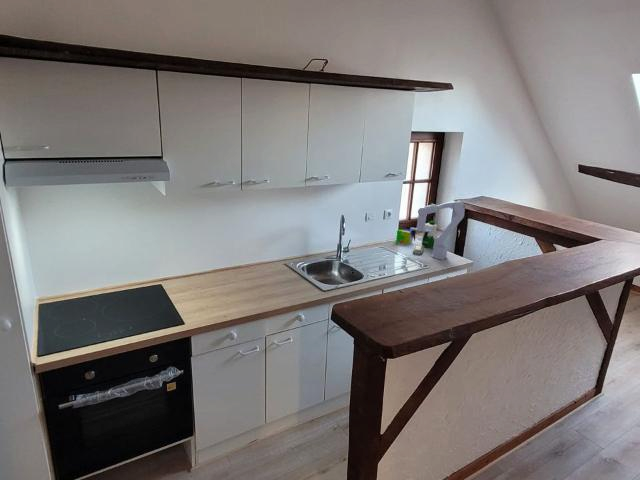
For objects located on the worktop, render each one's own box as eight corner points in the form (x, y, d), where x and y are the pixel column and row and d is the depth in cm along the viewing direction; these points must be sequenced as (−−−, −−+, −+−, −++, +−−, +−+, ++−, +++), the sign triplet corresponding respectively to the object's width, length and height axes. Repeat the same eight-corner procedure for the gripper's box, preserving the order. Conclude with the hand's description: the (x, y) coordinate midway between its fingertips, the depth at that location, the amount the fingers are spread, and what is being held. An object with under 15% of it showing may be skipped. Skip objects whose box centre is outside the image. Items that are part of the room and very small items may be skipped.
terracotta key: (421, 247, 312) (422, 246, 311) (416, 247, 313) (416, 245, 312) (422, 246, 315) (422, 244, 315) (417, 245, 317) (417, 243, 316)
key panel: (421, 255, 301) (421, 252, 301) (412, 253, 303) (413, 251, 302) (423, 248, 317) (423, 246, 316) (415, 247, 318) (415, 244, 318)
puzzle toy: (412, 241, 333) (413, 230, 330) (407, 244, 325) (409, 232, 322) (400, 239, 338) (401, 227, 335) (396, 242, 330) (397, 230, 327)
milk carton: (435, 246, 323) (438, 222, 317) (429, 248, 317) (432, 223, 311) (425, 244, 329) (429, 219, 323) (419, 246, 323) (422, 221, 317)
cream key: (421, 249, 307) (421, 247, 307) (415, 249, 308) (415, 247, 308) (421, 248, 311) (421, 246, 310) (416, 247, 312) (416, 245, 311)
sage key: (420, 251, 302) (420, 249, 302) (414, 250, 303) (415, 249, 303) (420, 250, 306) (421, 248, 305) (415, 249, 307) (415, 247, 307)
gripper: (431, 223, 300) (429, 241, 304) (411, 220, 304) (409, 238, 308) (431, 225, 294) (428, 243, 298) (410, 223, 298) (408, 240, 302)
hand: (419, 241), depth 303 cm, fingers open, 6 cm apart
